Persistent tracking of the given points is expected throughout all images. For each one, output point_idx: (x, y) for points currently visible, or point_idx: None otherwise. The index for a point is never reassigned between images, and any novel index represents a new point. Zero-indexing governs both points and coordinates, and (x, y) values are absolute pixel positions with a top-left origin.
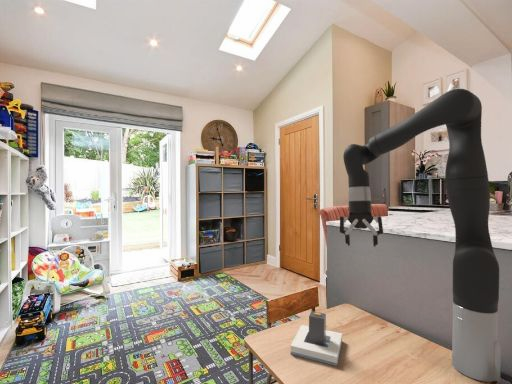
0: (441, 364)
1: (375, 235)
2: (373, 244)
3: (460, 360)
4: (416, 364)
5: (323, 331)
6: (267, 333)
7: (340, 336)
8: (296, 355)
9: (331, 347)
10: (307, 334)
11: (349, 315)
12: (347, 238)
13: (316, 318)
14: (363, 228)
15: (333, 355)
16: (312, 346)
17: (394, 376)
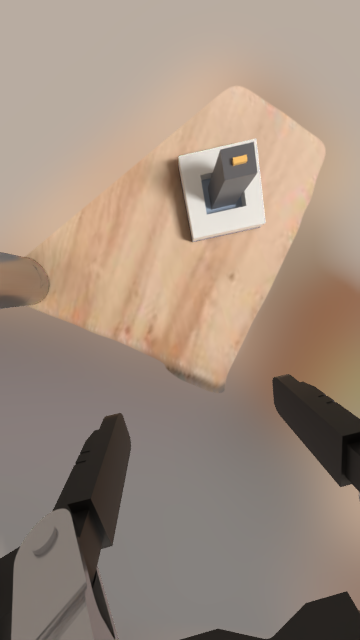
0: (60, 270)
1: (66, 517)
2: (116, 420)
3: (23, 260)
4: (87, 248)
5: (214, 168)
6: (309, 188)
7: (193, 226)
8: None
9: (195, 179)
10: (244, 200)
11: (206, 339)
12: (327, 405)
13: (236, 147)
14: (210, 636)
15: (184, 156)
16: None
17: (106, 197)
